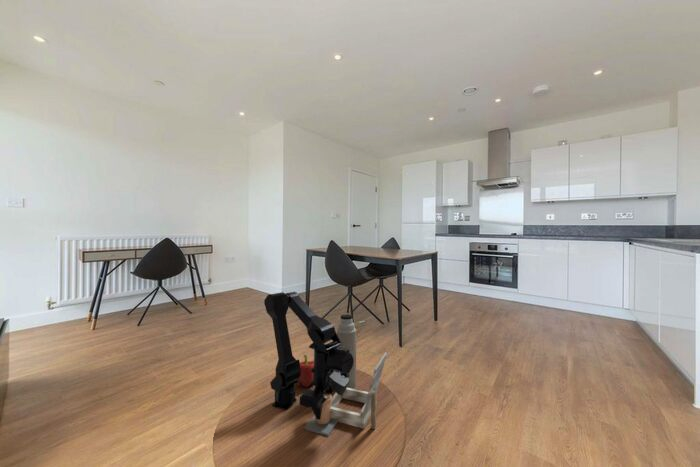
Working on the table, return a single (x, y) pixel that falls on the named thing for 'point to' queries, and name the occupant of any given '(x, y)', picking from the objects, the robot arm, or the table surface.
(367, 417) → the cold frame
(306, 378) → the vegetable
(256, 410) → the table surface
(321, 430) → the pad
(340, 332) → the thermos bottle
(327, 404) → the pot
